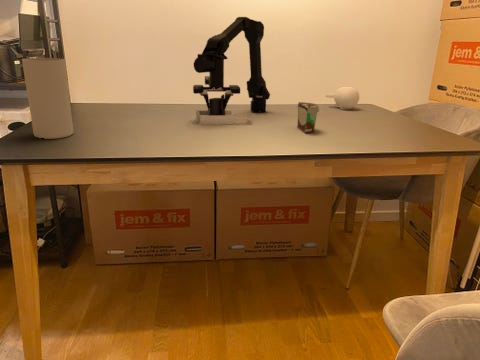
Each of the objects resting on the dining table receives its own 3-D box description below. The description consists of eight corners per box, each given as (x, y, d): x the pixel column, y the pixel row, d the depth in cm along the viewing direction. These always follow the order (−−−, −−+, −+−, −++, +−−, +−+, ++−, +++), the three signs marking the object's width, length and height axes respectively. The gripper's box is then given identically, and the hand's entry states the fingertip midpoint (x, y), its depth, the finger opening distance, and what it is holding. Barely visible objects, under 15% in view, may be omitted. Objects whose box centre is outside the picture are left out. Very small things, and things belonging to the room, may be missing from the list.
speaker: (229, 119, 166) (229, 94, 163) (223, 121, 161) (222, 96, 158) (214, 117, 169) (213, 93, 166) (207, 120, 165) (206, 94, 161)
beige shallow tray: (247, 117, 173) (247, 109, 172) (252, 124, 161) (252, 115, 160) (196, 118, 170) (196, 110, 168) (197, 124, 158) (197, 115, 157)
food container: (321, 134, 148) (324, 107, 145) (305, 134, 147) (308, 107, 144) (310, 127, 160) (313, 101, 156) (296, 127, 159) (298, 101, 155)
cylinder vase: (50, 141, 129) (38, 61, 120) (25, 136, 135) (13, 59, 126) (81, 134, 139) (73, 59, 130) (57, 129, 145) (48, 57, 136)
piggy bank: (359, 113, 198) (338, 110, 210) (366, 90, 196) (345, 88, 209) (342, 107, 191) (321, 105, 204) (349, 83, 190) (328, 82, 202)
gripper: (236, 69, 167) (236, 107, 172) (192, 69, 164) (192, 107, 170) (241, 72, 157) (240, 111, 162) (193, 71, 154) (194, 112, 159)
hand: (216, 110), depth 163 cm, fingers open, 6 cm apart
